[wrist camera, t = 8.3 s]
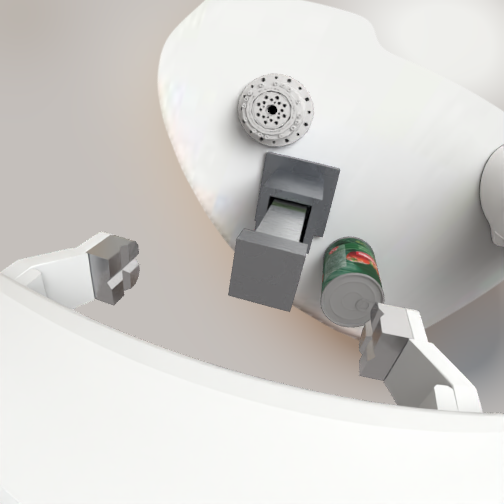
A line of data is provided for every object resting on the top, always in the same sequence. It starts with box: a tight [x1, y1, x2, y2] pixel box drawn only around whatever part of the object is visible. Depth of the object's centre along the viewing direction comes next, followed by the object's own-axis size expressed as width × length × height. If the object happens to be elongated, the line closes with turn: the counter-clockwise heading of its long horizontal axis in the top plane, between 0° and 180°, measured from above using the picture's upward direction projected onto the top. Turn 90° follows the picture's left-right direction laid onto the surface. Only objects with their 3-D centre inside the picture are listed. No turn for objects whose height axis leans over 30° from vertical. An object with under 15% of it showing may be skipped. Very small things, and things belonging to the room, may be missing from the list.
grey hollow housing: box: [255, 152, 340, 254], centre depth 38 cm, size 10×10×12 cm
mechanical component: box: [238, 74, 314, 146], centre depth 37 cm, size 10×4×10 cm
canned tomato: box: [321, 237, 384, 327], centre depth 41 cm, size 8×8×11 cm
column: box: [228, 197, 308, 312], centre depth 31 cm, size 5×5×17 cm
